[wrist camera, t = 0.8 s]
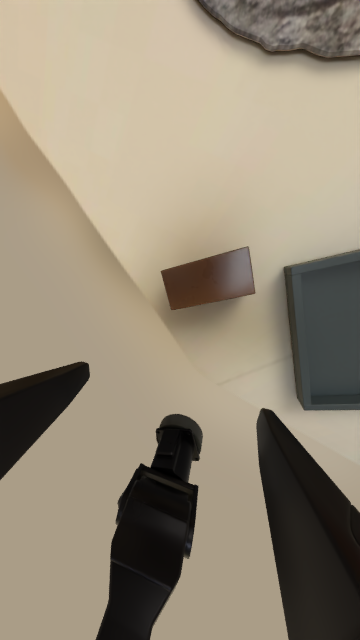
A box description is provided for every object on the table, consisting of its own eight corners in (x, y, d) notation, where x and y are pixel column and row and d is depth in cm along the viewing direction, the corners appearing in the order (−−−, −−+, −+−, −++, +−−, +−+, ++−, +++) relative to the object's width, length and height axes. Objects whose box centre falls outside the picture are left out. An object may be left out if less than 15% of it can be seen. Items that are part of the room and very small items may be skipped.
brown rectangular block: (248, 286, 20) (255, 293, 15) (182, 301, 22) (171, 310, 18) (243, 250, 19) (248, 246, 14) (174, 269, 21) (160, 270, 17)
